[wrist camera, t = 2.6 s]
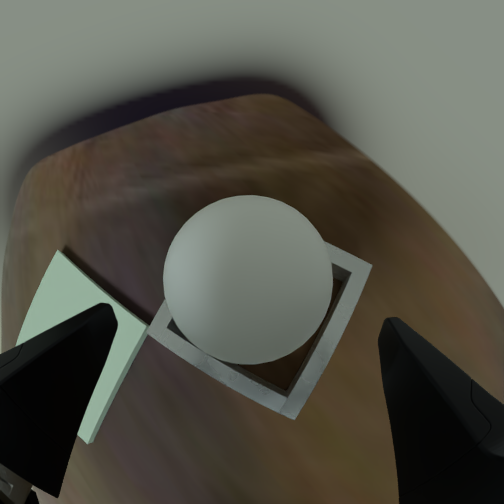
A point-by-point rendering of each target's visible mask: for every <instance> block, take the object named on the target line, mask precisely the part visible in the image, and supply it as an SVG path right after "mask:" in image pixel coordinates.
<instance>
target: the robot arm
mask: <svg viewBox="0 0 504 504" xmlns="http://www.w3.org/2000/svg"><path fill="white" fill-rule="evenodd" d="M117 329H118V321H117V318H116V316H115V313H114V310H113V307H112V306H111V305H110V304H109V303H98V304H96V305H94V306H92V307H90V308H88V309H86V310H84V311H82V312H80V313H79V314H77V315H75V316H73V317H71V318H69V319H67V320H65V321H63V322H61V323H59V324H57V325H55V326H53V327H52V328H50V329H48V330H46V331H44V332H42V333H40V334H38V335H36V336H35V337H33V338H31V339H29V340H27V341H25V342H24V343H21V344H20V345H18V346H16V347H14V348H12V349H10V350H8V351H6V352H4V353H2V354H0V504H39V501H38V498H37V495H36V492H35V491H33V490H32V489H31V488H32V486H33V485H34V486H36V487H37V488H39V489H41V490H43V491H44V492H46V493H48V494H50V495H52V496H54V497H56V498H58V497H59V494H60V490H61V486H62V483H63V479H64V475H65V472H66V469H67V465H68V462H69V459H70V454H71V452H72V449H73V446H74V443H75V440H76V437H77V434H78V431H79V428H80V426H81V423H82V420H83V417H84V415H85V412H86V410H87V407H88V404H89V402H90V399H91V397H92V394H93V392H94V390H95V387H96V385H97V382H98V380H99V378H100V375H101V373H102V371H103V368H104V366H105V364H106V361H107V358H108V355H109V352H110V349H111V346H112V343H113V340H114V338H115V335H116V332H117ZM378 348H379V355H380V364H381V373H382V382H383V388H384V394H385V398H386V404H387V409H388V414H389V420H390V426H391V432H392V438H393V445H394V452H395V460H396V468H397V478H398V490H399V504H504V404H502V403H501V402H500V401H498V400H497V399H496V398H494V397H493V396H492V395H491V394H489V393H488V392H487V391H486V390H485V389H483V388H482V387H481V386H480V385H479V384H478V383H477V382H475V381H474V380H473V379H471V377H470V376H468V375H467V374H466V373H465V372H464V371H463V370H461V369H460V368H459V367H458V366H457V365H456V364H454V363H453V362H452V361H451V360H450V359H448V358H447V357H446V356H445V355H444V354H443V353H441V352H440V351H439V350H438V349H437V348H435V347H434V346H433V345H432V344H430V343H429V342H428V341H427V340H426V339H424V338H423V337H422V336H421V335H419V334H418V333H417V332H416V331H414V330H413V329H412V328H411V327H409V326H408V325H407V324H406V323H404V322H403V321H402V320H401V319H399V318H398V317H390V318H386V319H385V320H384V322H383V326H382V329H381V332H380V334H379V338H378Z"/></svg>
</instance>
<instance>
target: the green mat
mask: <svg viewBox="0 0 504 504" xmlns="http://www.w3.org/2000/svg"><path fill="white" fill-rule="evenodd" d="M98 303H109V304H110V305H111V306H112V307H113V310H114V313H115V316H116V318H117V321H118V329H117V332H116V335H115V338H114V340H113V343H112V346H111V349H110V352H109V355H108V358H107V361H106V364H105V366H104V368H103V371H102V373H101V375H100V378H99V380H98V382H97V385H96V387H95V390H94V392H93V394H92V397H91V399H90V402H89V404H88V407H87V410H86V412H85V415H84V417H83V420H82V423H81V426H80V428H79V431H78V435H79V436H80V437H81V438H82V439H83V440H84V441H85V442H86V443H87V444H89V443H91V442H93V441H94V439H95V436H96V434H97V432H98V430H99V428H100V426H101V424H102V422H103V419H104V417H105V415H106V413H107V411H108V409H109V407H110V405H111V403H112V401H113V399H114V397H115V395H116V393H117V391H118V389H119V387H120V385H121V383H122V381H123V379H124V377H125V376H126V374H127V372H128V370H129V368H130V366H131V364H132V362H133V360H134V359H135V357H136V355H137V353H138V351H139V349H140V347H141V346H142V344H143V342H144V340H145V338H146V336H147V335H148V334H147V333H146V332H147V330H148V328H149V325H148V324H147V323H145V322H144V321H143V320H141V319H140V318H139V317H137V316H136V315H135V314H133V313H132V312H131V311H129V310H128V309H127V308H126V307H124V306H123V305H122V304H121V303H119V302H118V301H117V300H116V299H114V298H113V297H112V296H111V295H109V294H108V293H107V292H106V291H105V290H103V289H102V288H101V287H100V286H99V285H98V284H96V283H95V282H94V281H93V280H92V279H91V278H90V277H88V276H87V275H86V274H85V273H84V272H83V271H82V270H81V269H80V268H78V267H77V266H76V265H75V264H74V263H73V262H72V261H71V260H70V259H69V258H68V257H67V256H66V255H65V254H64V253H62V252H61V251H59V250H57V252H56V254H55V256H54V258H53V259H52V261H51V263H50V265H49V267H48V269H47V271H46V273H45V275H44V277H43V279H42V281H41V283H40V286H39V288H38V290H37V292H36V294H35V297H34V299H33V301H32V304H31V306H30V308H29V311H28V313H27V316H26V318H25V321H24V324H23V326H22V329H21V332H20V335H19V337H18V340H17V343H16V346H18V345H20V344H21V343H24V342H25V341H27V340H29V339H31V338H33V337H35V336H36V335H38V334H40V333H42V332H44V331H46V330H48V329H50V328H52V327H53V326H55V325H57V324H59V323H61V322H63V321H65V320H67V319H69V318H71V317H73V316H75V315H77V314H79V313H80V312H82V311H84V310H86V309H88V308H90V307H92V306H94V305H96V304H98ZM16 346H15V347H16Z"/></svg>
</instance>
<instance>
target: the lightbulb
mask: <svg viewBox="0 0 504 504" xmlns="http://www.w3.org/2000/svg"><path fill="white" fill-rule="evenodd" d="M163 283H164V294H165V298H166V301H167V304H168V308H169V311H170V314H171V316H172V317H173V319H174V321H175V323H176V325H177V327H178V328H179V329H180V330H181V332H182V333H183V334H184V335H185V336H186V337H187V339H188V340H189V341H190V342H192V343H193V344H194V345H196V346H197V347H198V348H199V349H201V350H202V351H203V352H205V353H207V354H209V355H211V356H213V357H215V358H217V359H219V360H222V361H227V362H231V363H235V364H260V363H265V362H271V361H274V360H276V359H279V358H281V357H284V356H286V355H288V354H290V353H292V352H293V351H295V350H296V349H297V348H299V347H300V346H302V345H303V344H304V343H305V342H306V341H307V340H308V339H309V338H310V337H311V336H312V335H313V334H314V333H315V332H316V330H317V329H318V327H319V326H320V324H321V322H322V321H323V319H324V317H325V315H326V312H327V310H328V307H329V304H330V301H331V295H332V287H333V275H332V263H331V260H330V256H329V253H328V250H327V247H326V245H325V243H324V241H323V239H322V238H321V236H320V234H319V233H318V231H317V230H316V229H315V228H314V226H313V225H312V224H311V223H310V221H309V220H308V219H307V218H306V217H305V216H303V215H302V214H301V213H300V212H298V211H297V210H296V209H295V208H293V207H291V206H289V205H287V204H285V203H283V202H281V201H278V200H275V199H272V198H269V197H263V196H256V195H244V196H234V197H230V198H225V199H222V200H219V201H217V202H214V203H212V204H209V205H208V206H206V207H205V208H203V209H201V210H200V211H198V212H197V213H196V214H195V215H193V216H192V217H191V218H190V219H189V220H188V221H187V222H186V223H185V224H184V225H183V226H182V228H181V229H180V230H179V232H178V233H177V234H176V236H175V238H174V240H173V242H172V244H171V246H170V247H169V250H168V253H167V257H166V260H165V264H164V274H163Z"/></svg>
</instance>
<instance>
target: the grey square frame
mask: <svg viewBox="0 0 504 504" xmlns="http://www.w3.org/2000/svg"><path fill="white" fill-rule="evenodd" d="M324 243H325V245H326V247H327V250H328V253H329V256H330V260H331V263H332V275H333V278H335V279H337V280H339V281H341V282H343V283H342V285H341V287H340V290H339V292H338V294H337V296H336V298H335V300H334V303H333V305H332V307H331V309H330V311H329V313H328V315H327V317H326V319H325V321H324V323H323V325H322V327H321V329H320V331H319V333H318V335H317V337H316V339H315V341H314V343H313V344H312V346H311V348H310V350H309V352H308V354H307V356H306V357H305V359H304V361H303V363H302V365H301V366H300V368H299V370H298V372H297V374H296V375H295V377H294V379H293V380H292V382H291V384H290V386H289V387H288V389H287V391H286V390H284V389H282V388H280V387H278V386H276V385H274V384H272V383H270V382H268V381H266V380H264V379H262V378H260V377H258V376H257V375H255V374H253V373H251V372H249V371H247V370H246V369H244V368H242V367H240V366H238V365H237V364H235V363H231V362H227V361H222V360H219V359H217V358H215V357H213V356H211V355H209V354H207V353H205V352H203V351H202V350H201V349H199V348H198V347H197V346H196V345H194V344H193V343H192V342H190V341H189V340H188V339H187V337H186V336H185V335H184V334H183V333H182V332H181V330H180V329H179V328H178V327H177V325H176V323H175V321H174V319H173V317H172V316H171V314H170V311H169V308H168V304H167V301H166V298H165V300H164V302H163V304H162V305H161V307H160V309H159V311H158V312H157V314H156V316H155V318H154V319H153V321H152V323H151V325H150V326H149V328H148V330H147V332H146V333H147V334H149V335H150V336H151V337H153V338H154V339H156V340H157V341H158V342H160V343H161V344H163V345H164V346H165V347H167V348H168V349H170V350H171V351H173V352H174V353H175V354H177V355H178V356H180V357H181V358H183V359H184V360H186V361H188V362H189V363H191V364H192V365H194V366H195V367H197V368H198V369H200V370H202V371H203V372H205V373H206V374H208V375H210V376H211V377H213V378H215V379H216V380H218V381H220V382H221V383H223V384H225V385H227V386H228V387H230V388H232V389H234V390H235V391H237V392H239V393H241V394H243V395H245V396H246V397H248V398H250V399H252V400H254V401H256V402H258V403H260V404H262V405H264V406H266V407H268V408H270V409H272V410H274V411H276V412H278V413H280V414H282V415H284V416H286V417H288V418H291V419H293V420H295V418H296V417H297V415H298V414H299V412H300V410H301V409H302V407H303V406H304V404H305V402H306V401H307V399H308V397H309V396H310V394H311V392H312V390H313V389H314V387H315V385H316V384H317V382H318V380H319V378H320V376H321V375H322V373H323V371H324V369H325V367H326V365H327V364H328V362H329V360H330V358H331V356H332V354H333V352H334V350H335V348H336V346H337V344H338V342H339V340H340V338H341V336H342V334H343V332H344V330H345V328H346V326H347V324H348V322H349V319H350V317H351V315H352V313H353V311H354V308H355V306H356V304H357V302H358V299H359V297H360V295H361V292H362V290H363V288H364V285H365V283H366V280H367V278H368V275H369V273H370V270H371V268H372V265H371V264H369V263H367V262H365V261H363V260H361V259H359V258H358V257H356V256H354V255H351V254H349V253H347V252H345V251H343V250H341V249H339V248H337V247H335V246H333V245H331V244H329V243H327V242H325V241H324Z"/></svg>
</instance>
